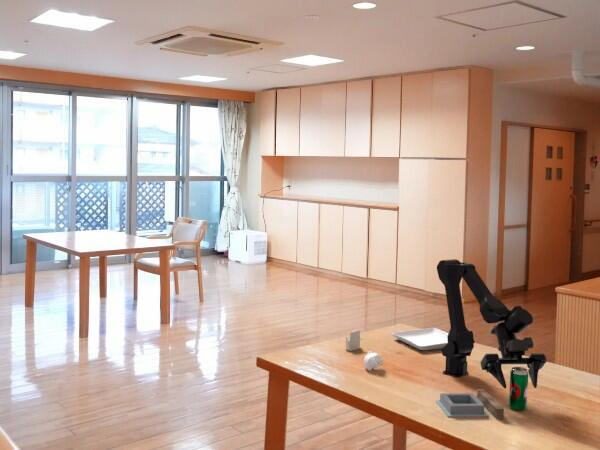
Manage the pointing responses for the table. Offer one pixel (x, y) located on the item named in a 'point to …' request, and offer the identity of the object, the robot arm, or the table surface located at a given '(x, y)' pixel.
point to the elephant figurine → (372, 361)
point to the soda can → (518, 388)
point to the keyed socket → (461, 405)
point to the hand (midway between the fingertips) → (520, 387)
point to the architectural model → (353, 341)
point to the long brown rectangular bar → (490, 404)
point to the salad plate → (423, 338)
